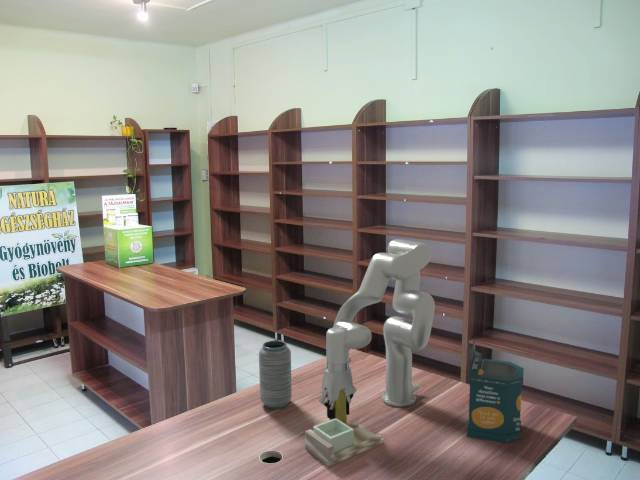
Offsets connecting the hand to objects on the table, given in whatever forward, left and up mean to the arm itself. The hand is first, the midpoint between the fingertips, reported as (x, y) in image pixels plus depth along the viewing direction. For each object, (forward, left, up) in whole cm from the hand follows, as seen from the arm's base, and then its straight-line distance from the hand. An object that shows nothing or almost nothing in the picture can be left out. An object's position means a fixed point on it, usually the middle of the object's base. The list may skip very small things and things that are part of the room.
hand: (338, 415), depth 182 cm
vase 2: (0, 0, -4) cm, 4 cm away
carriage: (+11, +11, -2) cm, 15 cm away
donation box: (-40, +33, -4) cm, 52 cm away
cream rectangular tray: (+6, +11, -4) cm, 13 cm away
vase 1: (+8, -27, -4) cm, 28 cm away
